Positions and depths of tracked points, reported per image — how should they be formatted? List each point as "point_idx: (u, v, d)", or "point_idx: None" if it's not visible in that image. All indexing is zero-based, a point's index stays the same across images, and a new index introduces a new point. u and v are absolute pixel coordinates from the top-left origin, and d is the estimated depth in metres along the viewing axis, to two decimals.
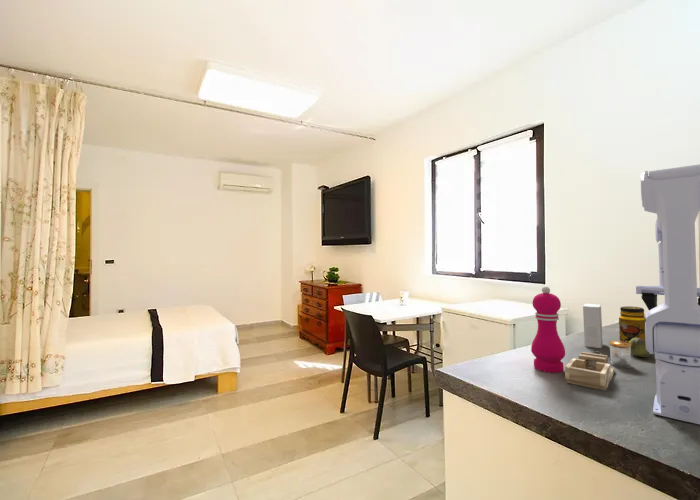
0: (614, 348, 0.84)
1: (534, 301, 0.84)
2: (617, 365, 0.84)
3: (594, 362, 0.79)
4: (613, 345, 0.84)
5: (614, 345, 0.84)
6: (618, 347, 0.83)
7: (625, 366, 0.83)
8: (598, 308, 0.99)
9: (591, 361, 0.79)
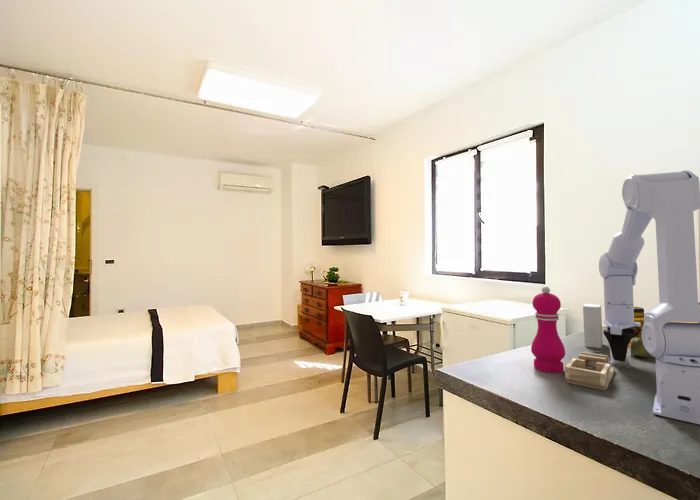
0: None
1: (534, 301, 0.84)
2: (617, 365, 0.84)
3: (594, 362, 0.79)
4: None
5: None
6: None
7: (625, 366, 0.83)
8: (598, 308, 0.99)
9: (591, 361, 0.79)
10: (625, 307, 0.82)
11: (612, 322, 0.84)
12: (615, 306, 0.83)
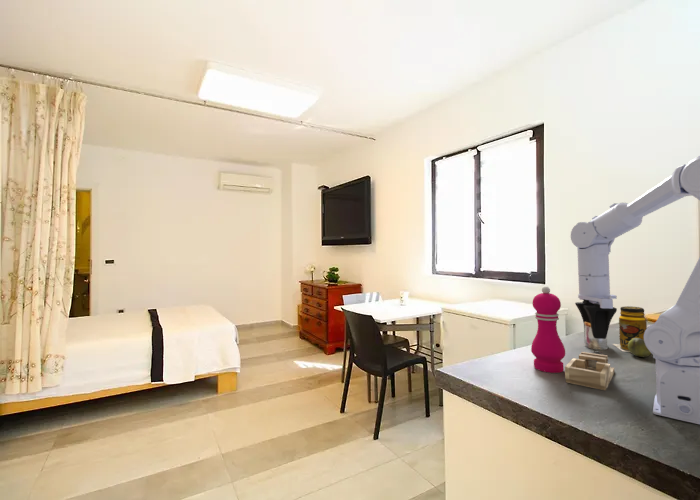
0: None
1: (534, 301, 0.84)
2: (598, 348, 0.76)
3: (594, 362, 0.79)
4: None
5: None
6: None
7: (605, 347, 0.75)
8: None
9: (591, 361, 0.79)
10: (605, 278, 0.75)
11: (593, 296, 0.75)
12: (596, 278, 0.75)
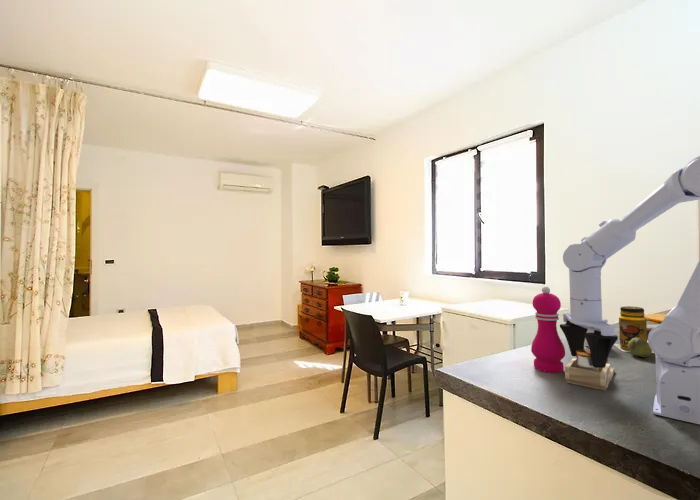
0: (588, 359, 0.73)
1: (534, 301, 0.84)
2: None
3: None
4: (588, 356, 0.73)
5: (589, 356, 0.73)
6: None
7: None
8: None
9: None
10: (600, 303, 0.73)
11: (589, 321, 0.72)
12: (592, 302, 0.72)
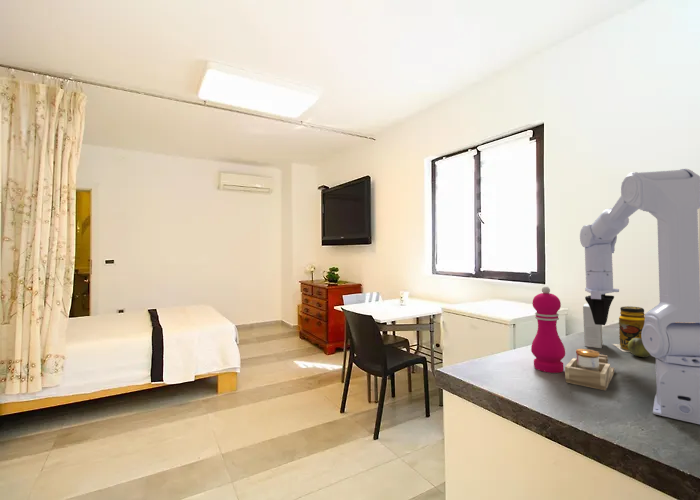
0: (589, 359, 0.73)
1: (534, 301, 0.84)
2: None
3: None
4: (588, 356, 0.73)
5: (589, 356, 0.73)
6: (594, 358, 0.73)
7: None
8: None
9: None
10: (605, 274, 0.86)
11: (592, 289, 0.87)
12: (595, 273, 0.87)
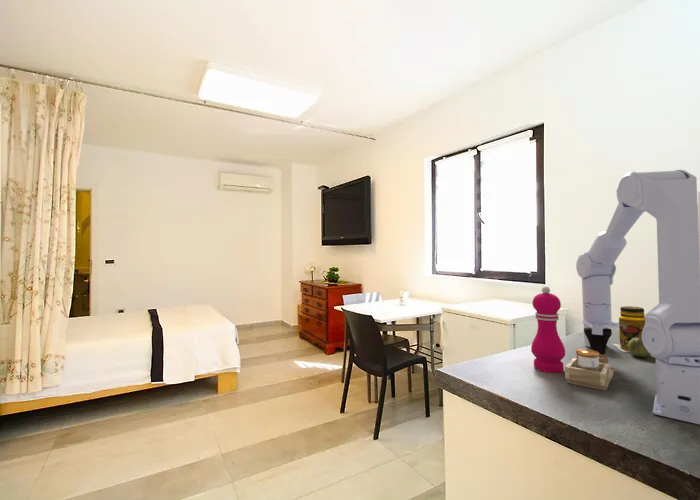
0: (589, 359, 0.73)
1: (534, 301, 0.84)
2: None
3: None
4: (588, 356, 0.73)
5: (589, 355, 0.73)
6: (594, 357, 0.73)
7: None
8: None
9: None
10: (604, 307, 0.82)
11: (591, 322, 0.83)
12: (594, 306, 0.83)
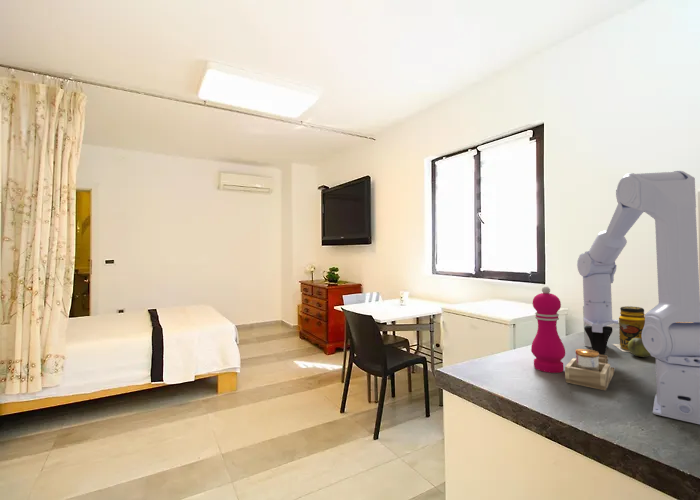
0: (588, 359, 0.73)
1: (534, 301, 0.84)
2: None
3: None
4: (588, 356, 0.73)
5: (589, 355, 0.73)
6: (593, 357, 0.73)
7: None
8: None
9: None
10: (604, 305, 0.83)
11: (592, 320, 0.84)
12: (595, 304, 0.84)
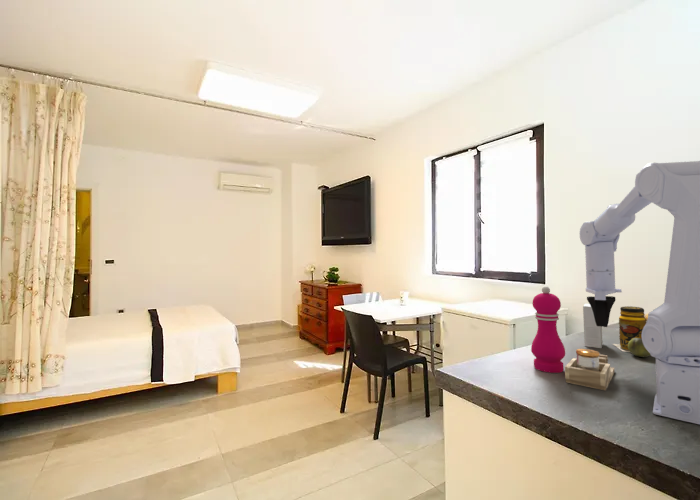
0: (589, 359, 0.73)
1: (534, 301, 0.84)
2: None
3: None
4: (589, 356, 0.73)
5: (590, 356, 0.73)
6: (594, 358, 0.73)
7: None
8: None
9: None
10: (607, 273, 0.81)
11: (595, 289, 0.83)
12: (598, 273, 0.82)
